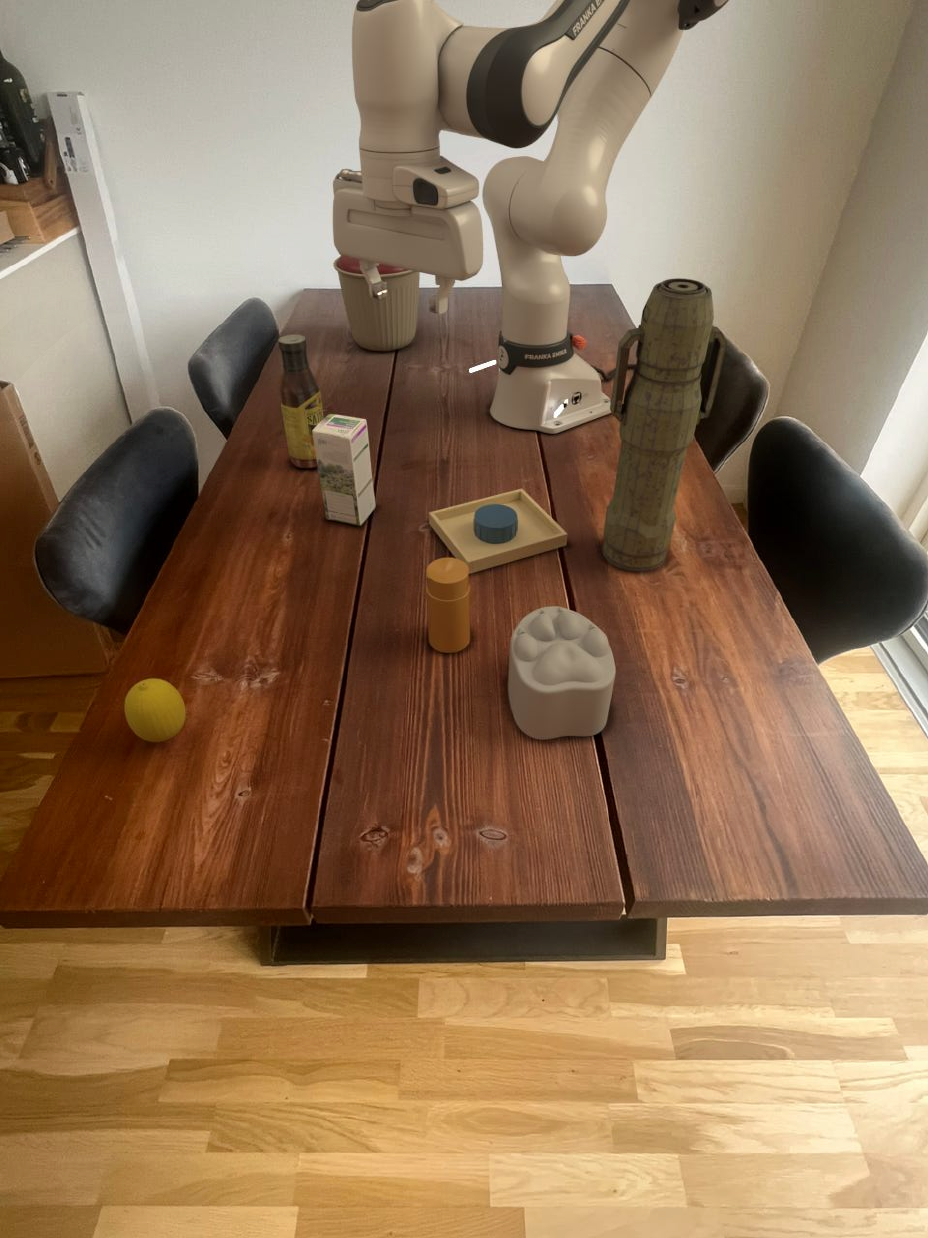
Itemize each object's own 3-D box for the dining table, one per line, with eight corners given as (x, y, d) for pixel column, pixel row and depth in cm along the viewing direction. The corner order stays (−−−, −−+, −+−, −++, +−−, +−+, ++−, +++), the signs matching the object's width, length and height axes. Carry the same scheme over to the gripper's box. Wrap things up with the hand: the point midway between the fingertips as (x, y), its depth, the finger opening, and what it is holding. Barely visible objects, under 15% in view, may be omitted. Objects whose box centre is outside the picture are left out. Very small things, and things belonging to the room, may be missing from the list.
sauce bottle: (321, 472, 117) (303, 349, 104) (285, 468, 118) (261, 346, 105) (335, 452, 122) (318, 332, 109) (299, 449, 123) (279, 330, 110)
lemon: (145, 718, 79) (122, 665, 73) (198, 714, 79) (178, 662, 74) (132, 759, 74) (107, 706, 69) (188, 755, 75) (166, 702, 70)
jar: (459, 620, 90) (458, 552, 83) (477, 645, 87) (477, 576, 80) (422, 632, 89) (418, 563, 82) (438, 658, 85) (436, 588, 78)
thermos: (582, 538, 103) (615, 275, 80) (662, 530, 105) (717, 269, 82) (601, 576, 97) (644, 302, 73) (686, 567, 98) (754, 295, 75)
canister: (442, 337, 161) (439, 232, 147) (393, 365, 149) (385, 254, 135) (377, 322, 168) (368, 220, 154) (325, 348, 157) (311, 240, 143)
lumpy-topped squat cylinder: (517, 741, 76) (520, 683, 70) (500, 654, 86) (503, 597, 80) (615, 734, 77) (627, 676, 71) (588, 648, 86) (596, 591, 81)
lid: (465, 534, 103) (465, 518, 101) (489, 515, 107) (489, 499, 105) (501, 549, 101) (502, 533, 99) (524, 528, 104) (525, 512, 103)
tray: (521, 499, 111) (521, 488, 110) (566, 545, 102) (567, 533, 101) (429, 523, 106) (428, 512, 105) (468, 574, 97) (468, 562, 96)
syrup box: (377, 506, 110) (368, 416, 100) (360, 528, 105) (349, 436, 96) (342, 500, 111) (330, 410, 101) (324, 521, 107) (310, 429, 97)
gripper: (313, 171, 84) (328, 296, 93) (458, 192, 75) (459, 328, 85) (350, 162, 88) (361, 283, 97) (491, 181, 79) (489, 313, 88)
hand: (408, 304), depth 91 cm, fingers open, 8 cm apart
